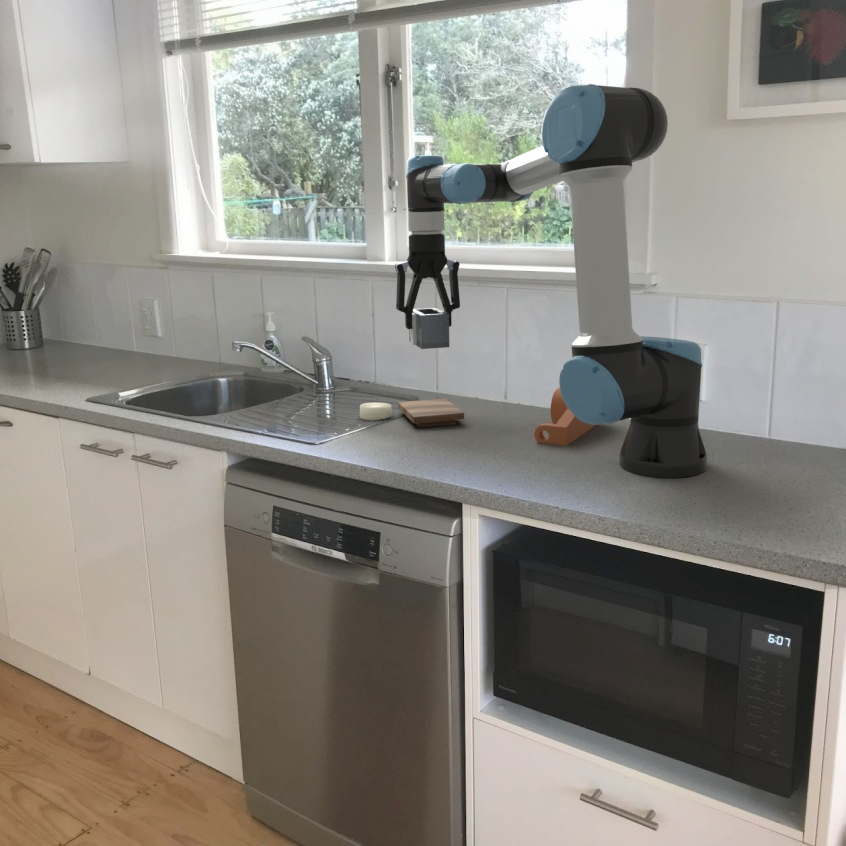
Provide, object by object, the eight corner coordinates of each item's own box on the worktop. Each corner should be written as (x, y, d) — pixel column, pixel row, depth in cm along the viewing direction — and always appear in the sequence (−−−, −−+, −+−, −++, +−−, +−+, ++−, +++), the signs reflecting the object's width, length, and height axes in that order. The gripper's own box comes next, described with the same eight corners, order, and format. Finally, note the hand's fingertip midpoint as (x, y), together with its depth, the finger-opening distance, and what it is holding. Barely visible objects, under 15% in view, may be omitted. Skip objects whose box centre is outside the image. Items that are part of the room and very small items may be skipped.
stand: (464, 426, 195) (464, 412, 194) (414, 430, 193) (413, 417, 192) (445, 411, 209) (445, 398, 209) (398, 415, 207) (397, 402, 206)
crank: (563, 420, 199) (564, 384, 197) (599, 424, 195) (599, 387, 193) (528, 443, 182) (528, 404, 180) (566, 447, 178) (566, 407, 177)
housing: (436, 339, 202) (435, 307, 201) (449, 347, 192) (448, 313, 190) (409, 341, 201) (408, 309, 199) (421, 349, 191) (420, 315, 189)
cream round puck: (398, 419, 204) (398, 405, 203) (374, 423, 199) (374, 409, 199) (376, 414, 209) (376, 401, 208) (353, 418, 204) (353, 405, 203)
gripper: (465, 230, 197) (466, 337, 202) (378, 233, 192) (381, 343, 198) (475, 231, 189) (476, 343, 195) (385, 235, 185) (389, 348, 191)
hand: (428, 342), depth 196 cm, fingers closed on housing, 6 cm apart
